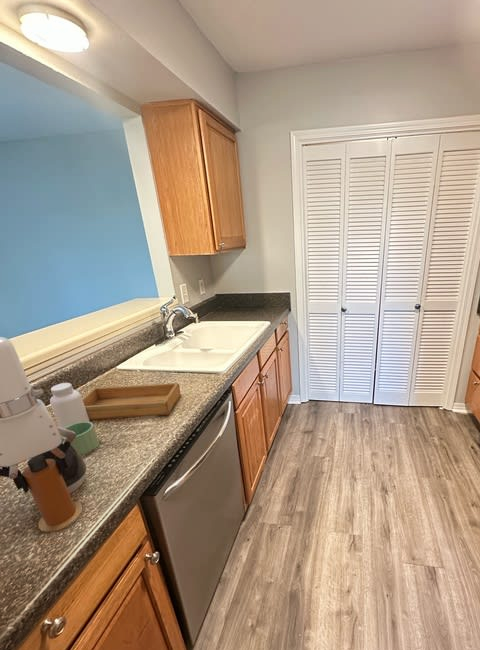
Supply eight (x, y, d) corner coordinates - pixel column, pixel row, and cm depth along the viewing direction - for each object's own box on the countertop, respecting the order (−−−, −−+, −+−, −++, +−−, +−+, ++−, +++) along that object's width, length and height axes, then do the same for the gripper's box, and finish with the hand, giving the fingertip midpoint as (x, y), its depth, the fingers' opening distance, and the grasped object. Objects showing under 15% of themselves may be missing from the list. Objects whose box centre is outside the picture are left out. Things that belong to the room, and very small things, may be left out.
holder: (62, 460, 89) (54, 441, 86) (70, 444, 96) (63, 425, 94) (96, 452, 92) (90, 433, 89) (102, 437, 99) (95, 418, 96)
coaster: (33, 537, 66) (32, 536, 66) (45, 509, 73) (45, 507, 73) (78, 524, 69) (77, 522, 68) (86, 498, 76) (85, 496, 75)
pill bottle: (75, 436, 100) (59, 393, 94) (55, 433, 102) (38, 391, 96) (96, 422, 107) (82, 381, 101) (77, 420, 109) (62, 379, 103)
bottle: (41, 529, 67) (13, 472, 61) (49, 509, 72) (24, 455, 66) (72, 520, 69) (47, 464, 63) (78, 502, 74) (56, 448, 68)
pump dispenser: (39, 488, 79) (14, 436, 73) (87, 468, 85) (68, 419, 79) (41, 512, 72) (15, 457, 66) (94, 489, 78) (74, 436, 72)
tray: (181, 395, 122) (178, 381, 120) (169, 416, 109) (165, 401, 106) (98, 401, 121) (93, 387, 119) (75, 423, 107) (69, 408, 105)
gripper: (60, 382, 68) (86, 452, 75) (-56, 416, 57) (-12, 495, 64) (69, 392, 63) (96, 466, 70) (-56, 432, 52) (-8, 515, 59)
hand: (45, 479), depth 67 cm, fingers open, 5 cm apart
